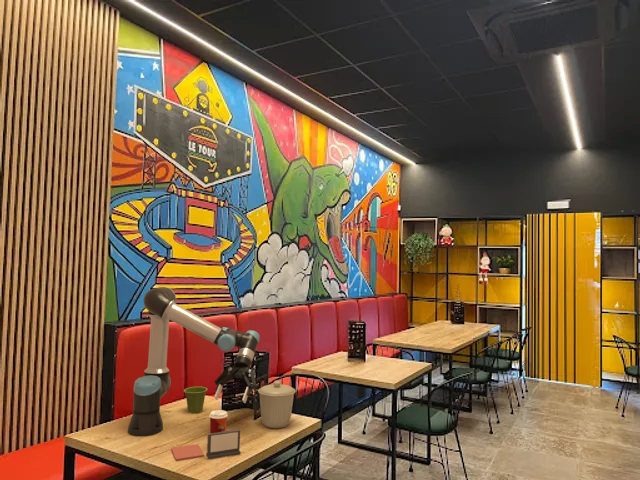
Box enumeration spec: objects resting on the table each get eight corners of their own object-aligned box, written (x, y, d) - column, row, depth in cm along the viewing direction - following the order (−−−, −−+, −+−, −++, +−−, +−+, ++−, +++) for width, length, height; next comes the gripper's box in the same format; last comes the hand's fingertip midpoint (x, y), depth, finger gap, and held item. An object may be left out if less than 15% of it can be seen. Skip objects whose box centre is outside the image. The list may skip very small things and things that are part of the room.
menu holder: (206, 455, 188) (207, 432, 189) (237, 450, 194) (238, 428, 194) (208, 459, 185) (209, 436, 185) (240, 454, 190) (241, 431, 191)
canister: (275, 416, 238) (277, 374, 239) (302, 424, 227) (303, 380, 228) (249, 425, 224) (250, 380, 225) (275, 434, 213) (277, 387, 214)
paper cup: (222, 450, 194) (223, 416, 194) (205, 448, 195) (206, 414, 196) (229, 443, 201) (230, 410, 202) (212, 441, 203) (214, 408, 204)
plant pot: (190, 406, 250) (191, 385, 250) (210, 409, 246) (211, 387, 247) (178, 413, 238) (179, 391, 239) (199, 416, 235) (200, 393, 236)
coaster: (171, 449, 193) (171, 447, 193) (198, 445, 198) (198, 443, 198) (175, 461, 182) (175, 459, 182) (204, 456, 187) (204, 454, 187)
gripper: (270, 366, 224) (257, 407, 209) (222, 362, 230) (207, 401, 215) (266, 357, 219) (253, 398, 204) (218, 353, 225) (201, 393, 210)
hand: (229, 400), depth 209 cm, fingers open, 13 cm apart
